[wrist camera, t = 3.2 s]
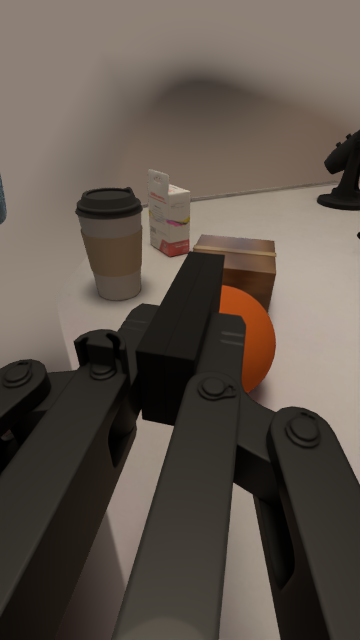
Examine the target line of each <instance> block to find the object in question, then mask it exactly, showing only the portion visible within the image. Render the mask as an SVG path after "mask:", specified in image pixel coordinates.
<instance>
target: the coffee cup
mask: <svg viewBox="0 0 360 640" xmlns="http://www.w3.org/2000/svg"><path fill="white" fill-rule="evenodd" d="M142 210H143V208H142V206H141V202H140V200H139V199H138V198H136V197H135V195H134V193H133V191H132V189H131V188H130V187H127V188H125V189H121V188H101V189H93V190H89V191H86V192H84V193H83V195H82V197H81V200H79V201H78V202H77V209H76V211H75V212H76V214H77V215H78V217H79V221H80V225H81V234H82V237H83V241H84V245H85V248H86V252H87V255H88V259H89V262H90V266H91V269H92V271H93V274H94V277H95V281H96V285H97V289H98V292H99V295H100V296H101V297H103V298H105V299H109V300H125V299H129V298H132V297H134V296H136V295H137V294H138V293H139V292H140V290H141V265H142V225H141V211H142Z"/></svg>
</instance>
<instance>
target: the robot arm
mask: <svg viewBox="0 0 360 640" xmlns="http://www.w3.org/2000/svg"><path fill="white" fill-rule="evenodd" d="M6 213H7V212H6V203H5V197H4V191H3V186H2V180H1V175H0V224H2V223H3V222H4V220H5V219H6ZM224 260H225V255H222V254H212V253H202V252H191V251H189V253H188V255H187V257H186V259H185V261H184V262H183V264H182V266H181V268H180V270H179V272H178V273H177V275H176V277H175V279H174V281H173V282H172V284H171V286H170V288H169V290H168V292H167V293H166V295H165V297H164V299H163V301H162V303H161V304H160V306H158V305H151V304H143V303H142V304H141V305H139V306H137V307H136V308H134V309H133V310H131V312H130V313H129V315H128V316H127V318H126V321H124V322H123V324H122V325H121V328H119V330H118V331H117V332H116V331H113V330H106V329H99V330H94V331H89V332H87V333H85V334H83V335H81V336H79V337H78V338H77V339H76V340H75V341H74V345H75V349H76V353H77V357H78V361H79V365H80V366H79V368H78V369H77V370H73V371H64V372H51V373H47V371H46V368H45V365H44V364H42V363H41V362H40V361H36V360H32V359H29V360H19V361H16V362H13V363H10V364H8V365H6V366H5V367H3V368H1V369H0V640H55V637H56V635H57V632H58V630H59V627H60V625H61V622H62V619H63V617H64V614H65V612H66V610H67V607H68V604H69V602H70V600H71V597H72V594H73V592H74V589H75V587H76V584H77V582H78V579H79V577H80V574H81V572H82V569H83V567H84V564H85V562H86V559H87V557H88V554H89V552H90V549H91V547H92V544H93V542H94V539H95V537H96V534H97V532H98V529H99V527H100V524H101V522H102V519H103V517H104V514H105V512H106V509H107V507H108V504H109V502H110V499H111V497H112V494H113V492H114V489H115V487H116V484H117V482H118V479H119V477H120V474H121V472H122V469H123V467H124V464H125V462H126V459H127V457H128V454H129V452H130V449H131V447H132V444H133V442H134V439H135V437H136V431H137V426H136V420H137V418H138V415H139V413H140V411H141V410H142V419H143V420H148V421H152V422H157V423H162V424H167V425H172V426H174V429H173V432H172V436H171V439H170V442H169V446H168V449H167V453H166V456H165V459H164V463H163V466H162V469H161V473H160V476H159V480H158V483H157V486H156V490H155V493H154V496H153V500H152V503H151V507H150V510H149V513H148V517H147V520H146V524H145V527H144V530H143V534H142V537H141V540H140V544H139V547H138V551H137V554H136V557H135V561H134V564H133V567H132V571H131V574H130V578H129V581H128V584H127V588H126V591H125V594H124V598H123V601H122V605H121V608H120V611H119V615H118V618H117V621H116V625H115V628H114V632H113V635H112V639H111V640H219V629H220V618H221V607H222V597H223V586H224V575H225V564H226V554H227V543H228V532H229V521H230V511H231V500H232V489H233V483H235V484H237V485H238V486H240V487H242V488H243V489H245V490H246V491H248V492H250V493H251V494H253V499H254V504H255V509H256V514H257V519H258V525H259V530H260V535H261V540H262V545H263V551H264V556H265V561H266V566H267V571H268V576H269V582H270V587H271V592H272V597H273V602H274V608H275V613H276V618H277V623H278V628H279V633H280V639H281V640H360V484H359V482H358V480H357V478H356V476H355V474H354V472H353V470H352V468H351V466H350V464H349V462H348V459H347V457H346V455H345V453H344V451H343V449H342V447H341V445H340V443H339V441H338V439H337V437H336V435H335V433H334V431H333V430H332V428H331V427H330V425H329V424H328V423H327V421H325V420H324V419H323V418H322V417H320V416H319V415H318V414H317V413H314V412H312V411H310V410H308V409H305V408H300V407H293V406H292V407H286V408H282V409H280V410H279V411H277V412H274V411H272V410H270V409H268V408H266V407H264V406H262V405H260V404H258V403H257V402H255V401H254V400H253V399H252V398H250V397H249V396H248V394H247V393H246V392H245V390H244V388H243V386H242V368H243V357H244V345H245V336H246V323H245V322H244V320H243V318H242V316H241V315H233V314H226V313H219V310H220V300H221V290H222V280H223V270H224ZM9 429H10V430H11V433H10V434H9V435H7V436H6V437H1V436H2V435H3V434H5V433H6V432H7V431H8V430H9Z"/></svg>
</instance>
